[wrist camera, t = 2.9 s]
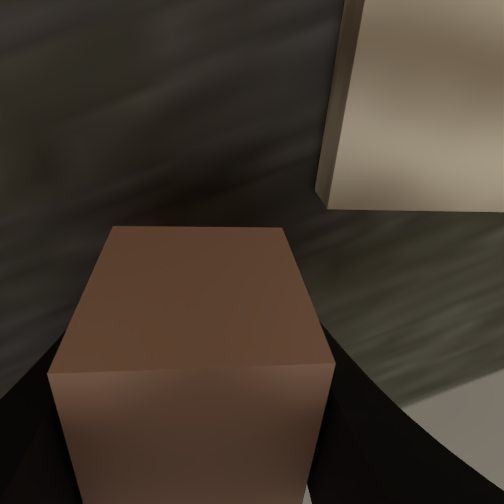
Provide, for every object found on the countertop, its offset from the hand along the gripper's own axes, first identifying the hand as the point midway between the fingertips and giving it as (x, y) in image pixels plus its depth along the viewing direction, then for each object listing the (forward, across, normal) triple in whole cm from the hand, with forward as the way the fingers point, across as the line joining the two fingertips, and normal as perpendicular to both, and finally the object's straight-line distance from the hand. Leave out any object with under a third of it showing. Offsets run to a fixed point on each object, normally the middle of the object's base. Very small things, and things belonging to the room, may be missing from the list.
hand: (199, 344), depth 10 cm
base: (+8, -10, -6) cm, 14 cm away
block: (+2, 0, 0) cm, 2 cm away
